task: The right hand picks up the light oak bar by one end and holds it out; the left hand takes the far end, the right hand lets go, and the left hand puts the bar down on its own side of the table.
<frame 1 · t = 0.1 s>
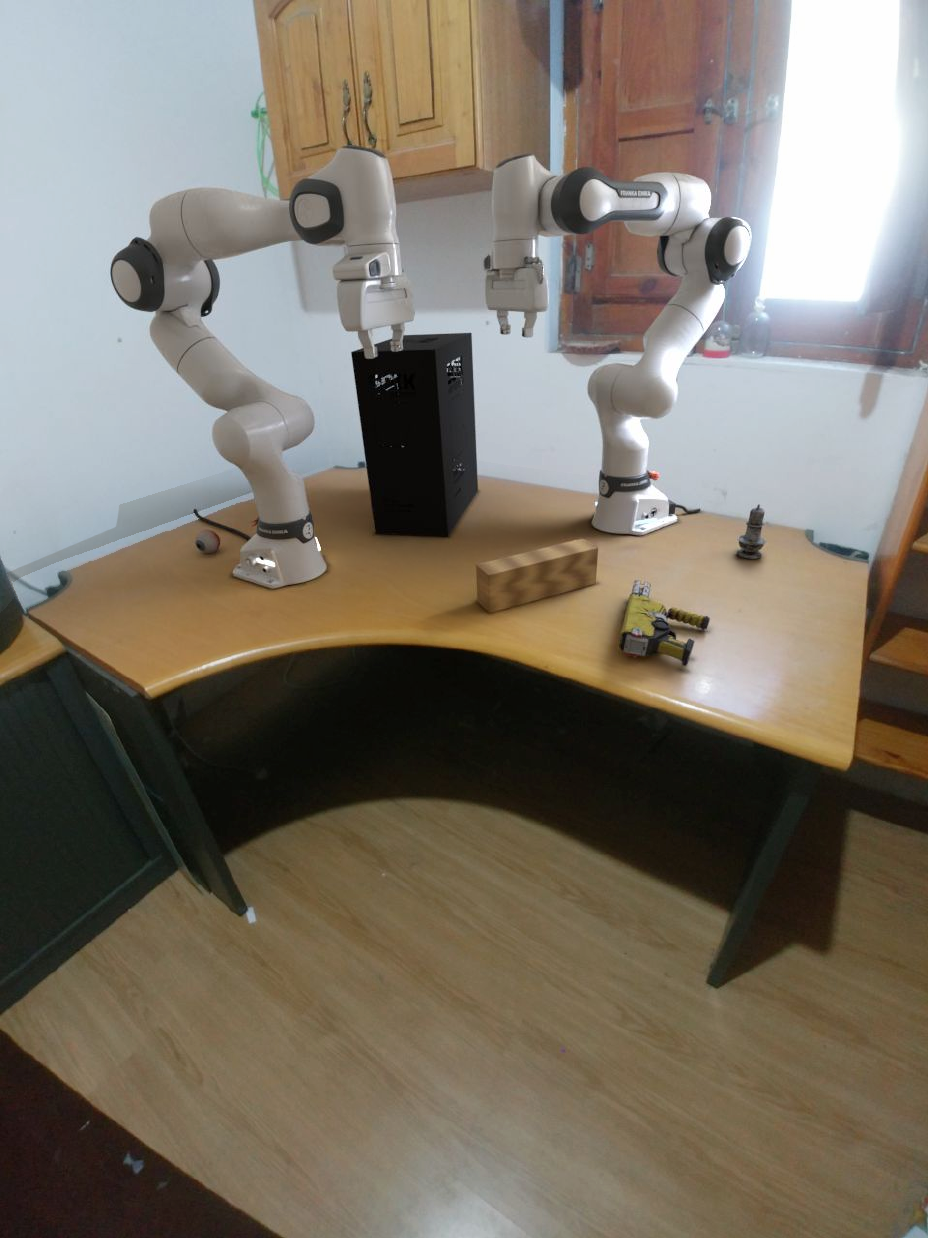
left hand: (384, 354, 109), 48 cm above the table, tool pointing down, fingers open, 8 cm apart
right hand: (516, 335, 125), 48 cm above the table, tool pointing down, fingers open, 8 cm apart
toy gun: (665, 631, 112), on the table
eyeball: (210, 553, 157), on the table
bar: (537, 592, 128), on the table
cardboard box: (430, 511, 176), on the table
salt shaker: (748, 554, 139), on the table
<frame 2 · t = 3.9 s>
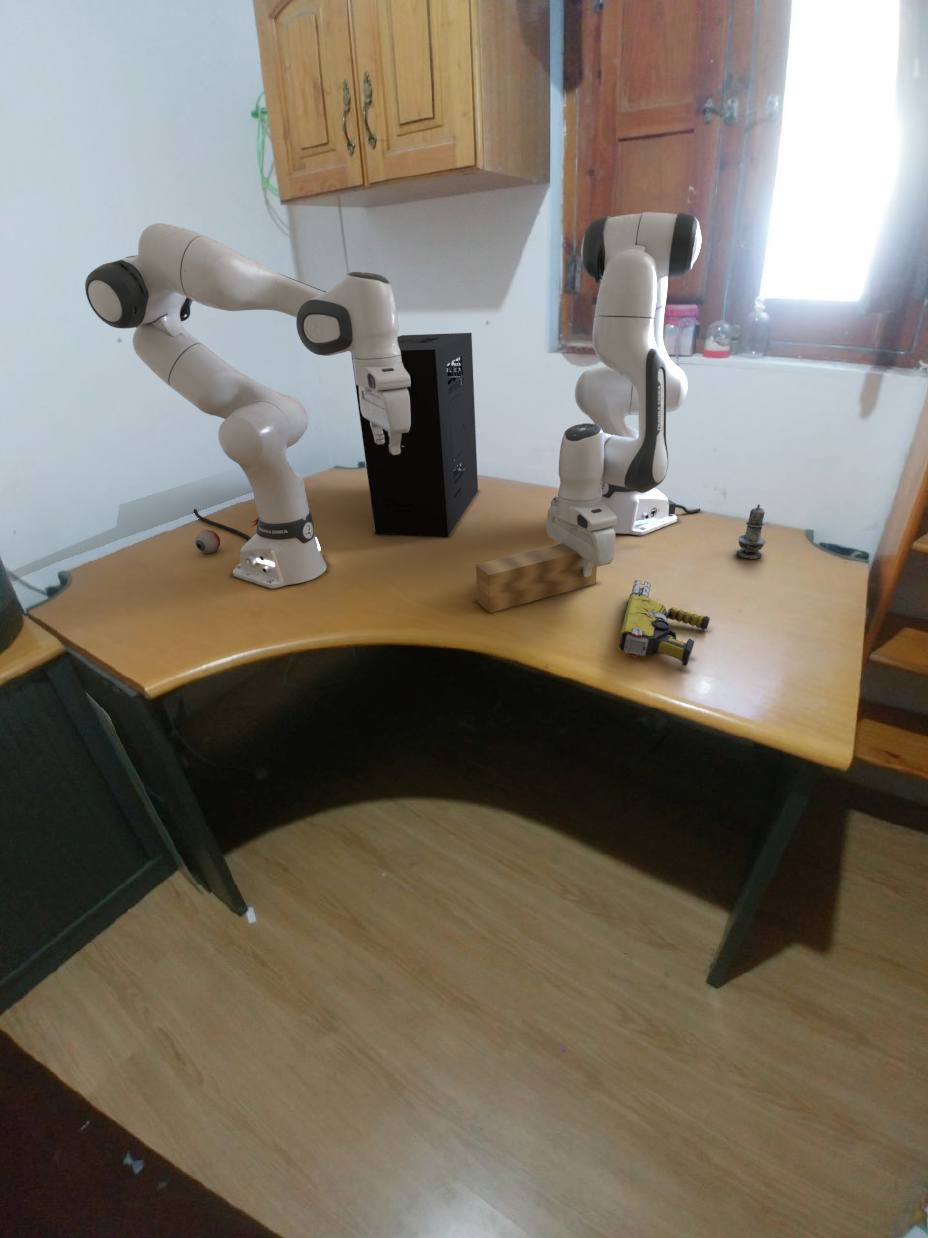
left hand: (387, 448, 118), 31 cm above the table, tool pointing down, fingers open, 8 cm apart
right hand: (576, 569, 130), 3 cm above the table, tool pointing down, fingers closed on bar, 6 cm apart
bar: (537, 592, 128), on the table, touching right hand
everything else where it was.
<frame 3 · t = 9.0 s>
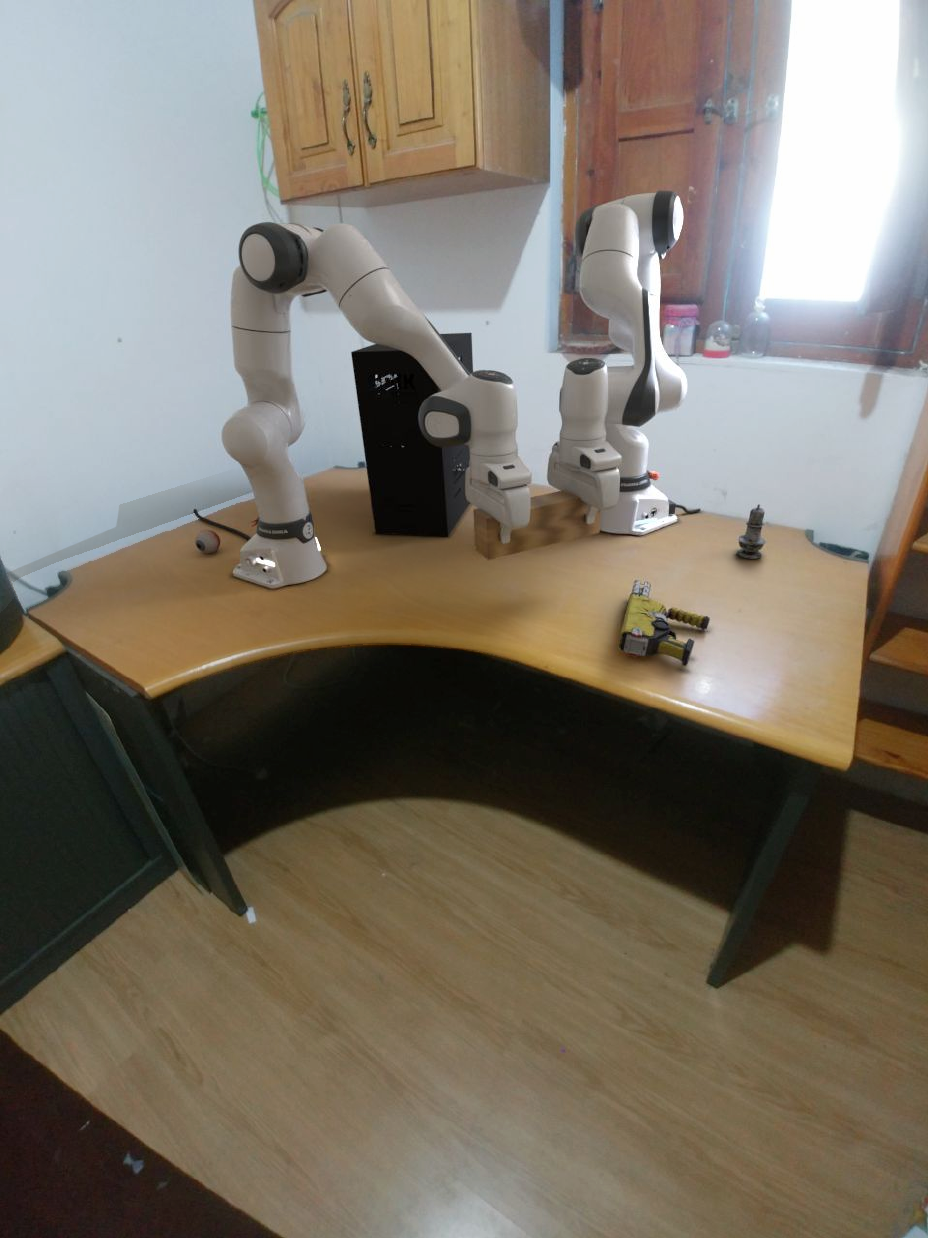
left hand: (495, 535, 118), 15 cm above the table, tool pointing down, fingers closed on bar, 6 cm apart
right hand: (578, 517, 124), 15 cm above the table, tool pointing down, fingers closed on bar, 6 cm apart
bar: (538, 541, 123), point 12 cm above the table, touching right hand, left hand
everything else where it was.
when the right hand's fingers open (15 cm above the table, at t = 10.2 s): bar moves 1 cm, held by the left hand.
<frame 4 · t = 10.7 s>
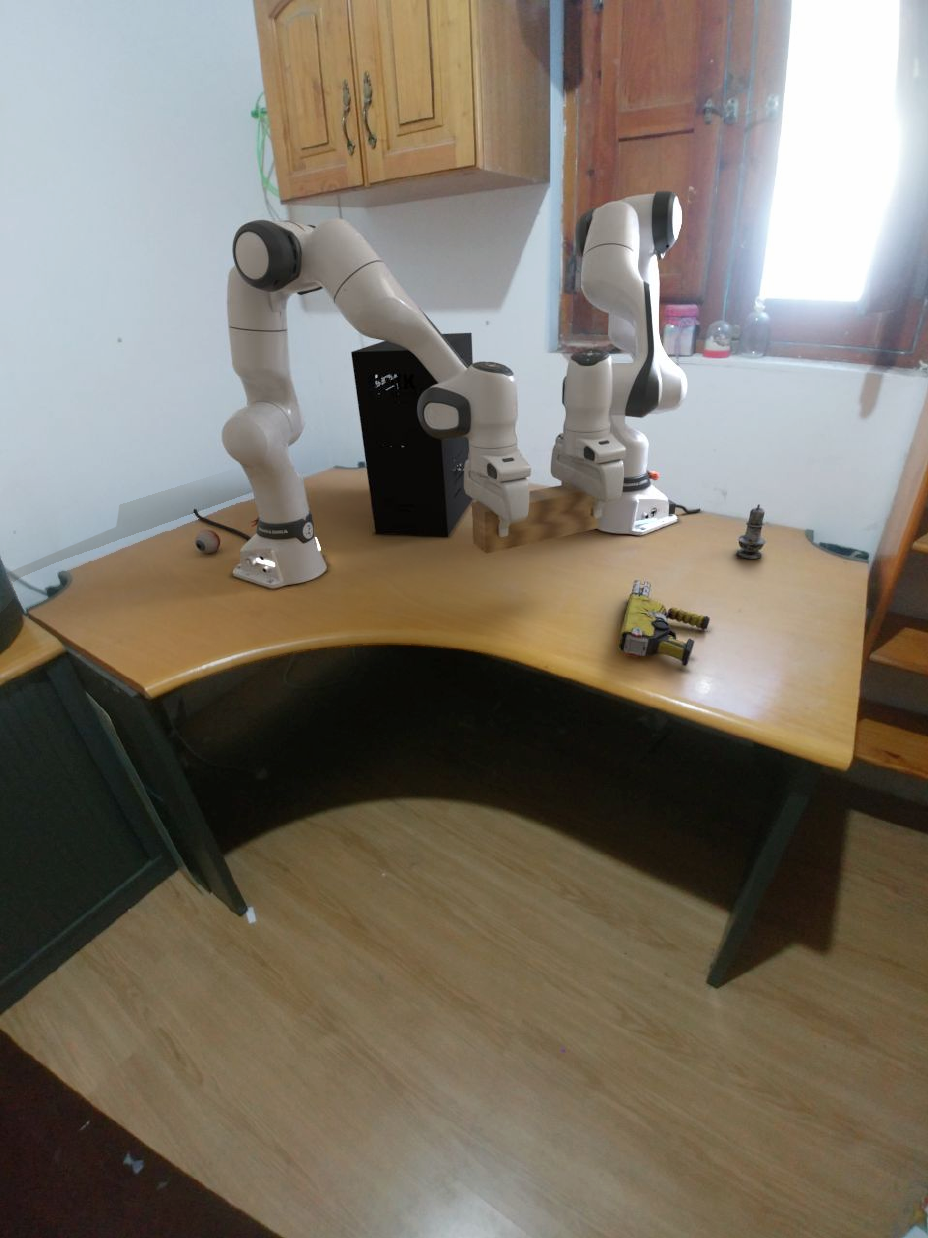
left hand: (494, 529, 117), 16 cm above the table, tool pointing down, fingers closed on bar, 6 cm apart
right hand: (582, 509, 124), 16 cm above the table, tool pointing down, fingers open, 8 cm apart
bar: (536, 535, 122), point 13 cm above the table, touching left hand
everything else where it was.
when the left hand's fingers open (4 cm above the table, at t = 18.0 s): bar stays where it is, on the table.
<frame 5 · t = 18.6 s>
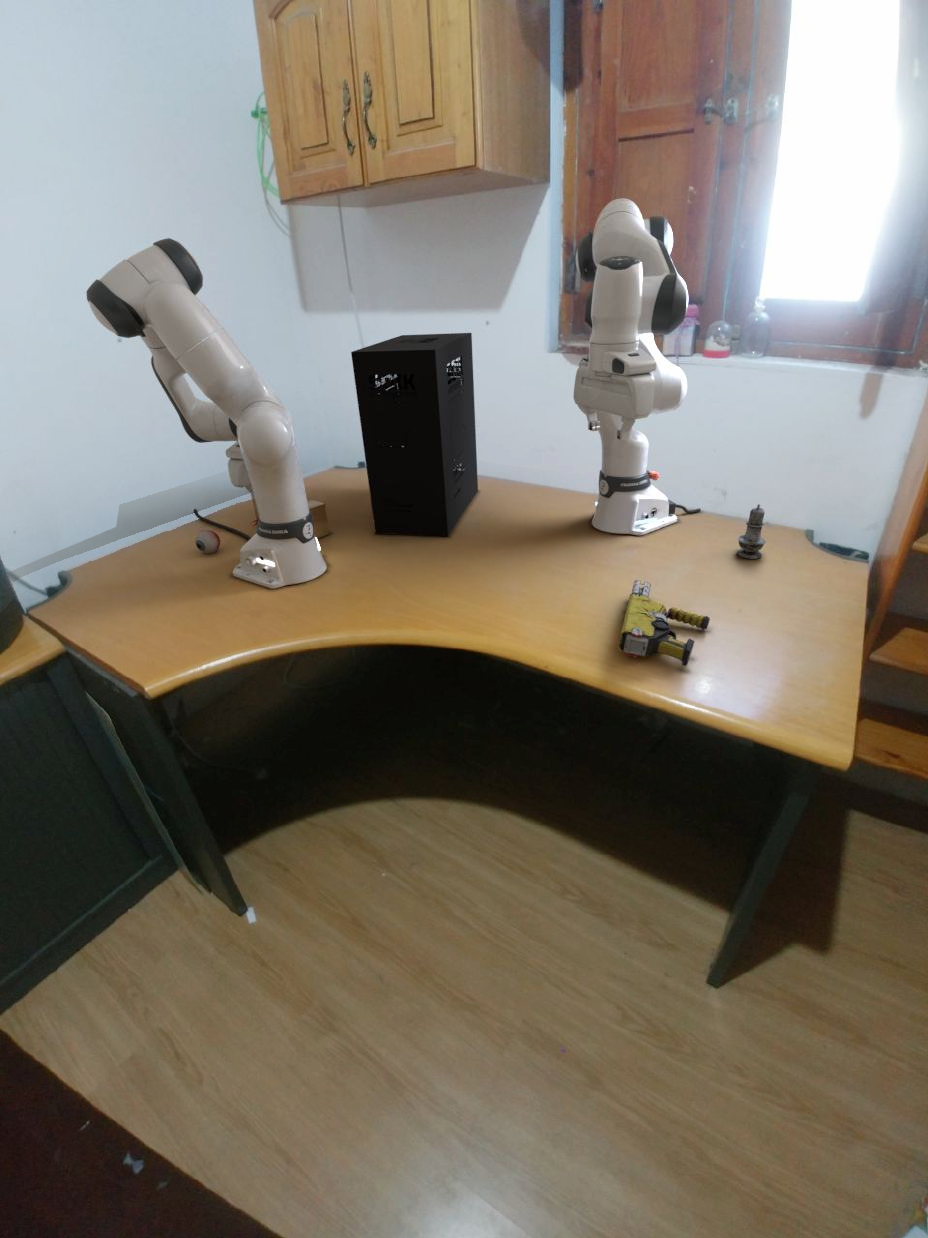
left hand: (269, 493, 172), 8 cm above the table, tool pointing down, fingers open, 8 cm apart
right hand: (607, 434, 118), 31 cm above the table, tool pointing down, fingers open, 8 cm apart
bar: (292, 527, 170), on the table, touching left hand
everything else where it was.
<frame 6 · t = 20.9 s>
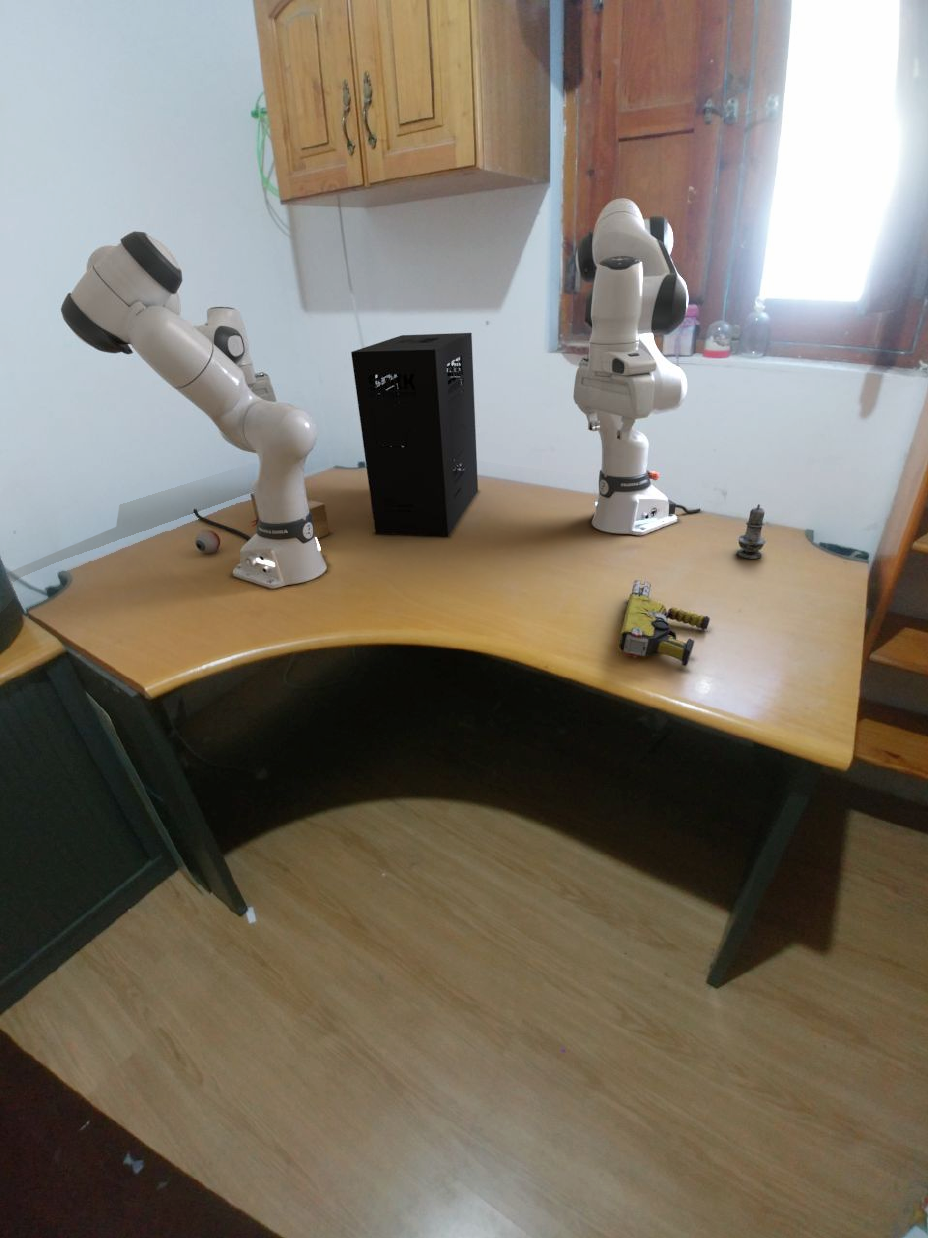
left hand: (249, 431, 163), 26 cm above the table, tool pointing down, fingers open, 8 cm apart
right hand: (607, 434, 118), 31 cm above the table, tool pointing down, fingers open, 8 cm apart
bar: (292, 527, 170), on the table
everything else where it was.
at the end: bar inside the target area (10.7 cm from its centre), on the table; the left hand is holding nothing; the right hand is holding nothing; bar at rest at the end (0.0 cm/s) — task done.
